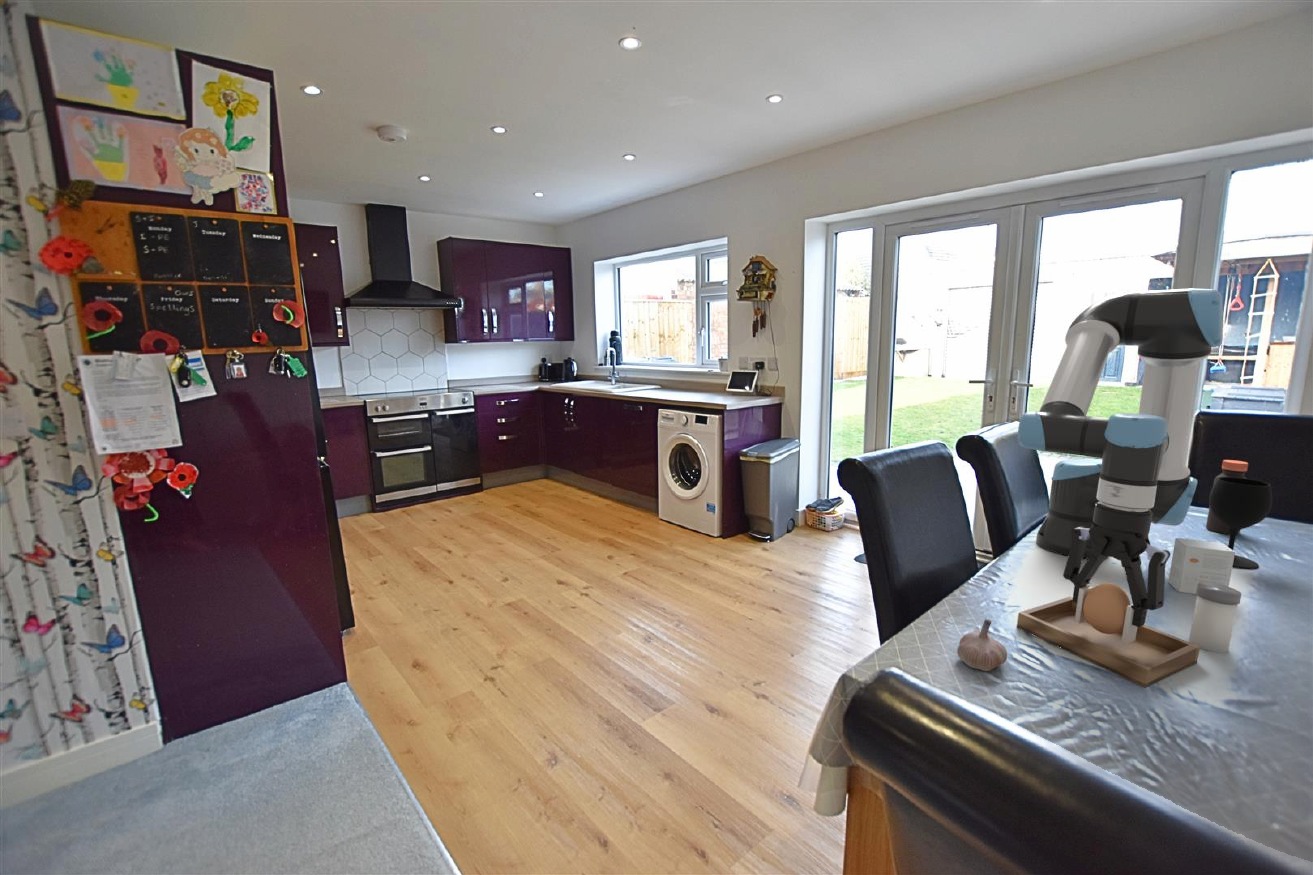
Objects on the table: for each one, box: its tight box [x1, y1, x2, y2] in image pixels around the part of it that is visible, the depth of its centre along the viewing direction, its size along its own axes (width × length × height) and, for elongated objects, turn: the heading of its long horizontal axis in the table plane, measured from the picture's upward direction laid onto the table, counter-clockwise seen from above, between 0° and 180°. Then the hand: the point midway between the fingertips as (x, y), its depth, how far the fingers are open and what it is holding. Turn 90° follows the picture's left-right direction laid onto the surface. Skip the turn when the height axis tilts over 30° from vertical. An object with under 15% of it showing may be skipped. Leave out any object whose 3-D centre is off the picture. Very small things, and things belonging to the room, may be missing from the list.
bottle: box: [1205, 459, 1249, 535], centre depth 155 cm, size 7×7×20 cm
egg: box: [1083, 582, 1132, 634], centre depth 98 cm, size 7×7×9 cm
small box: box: [1168, 537, 1236, 595], centre depth 119 cm, size 8×6×10 cm
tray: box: [1016, 596, 1201, 688], centre depth 99 cm, size 20×16×3 cm
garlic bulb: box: [956, 618, 1008, 672], centre depth 92 cm, size 8×7×8 cm
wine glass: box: [1208, 477, 1274, 570], centre depth 134 cm, size 10×10×20 cm
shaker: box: [1188, 582, 1243, 654], centre depth 98 cm, size 5×5×11 cm
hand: (1103, 630), depth 98 cm, fingers closed on egg, 7 cm apart
